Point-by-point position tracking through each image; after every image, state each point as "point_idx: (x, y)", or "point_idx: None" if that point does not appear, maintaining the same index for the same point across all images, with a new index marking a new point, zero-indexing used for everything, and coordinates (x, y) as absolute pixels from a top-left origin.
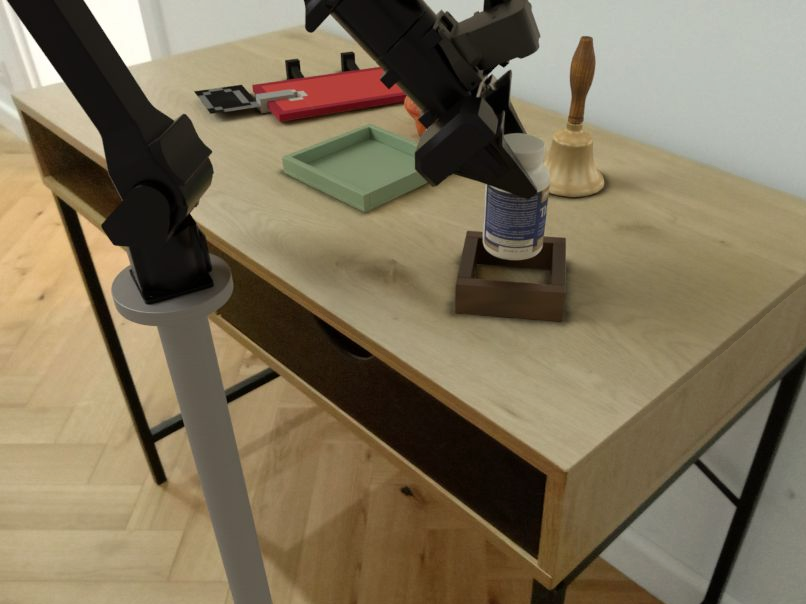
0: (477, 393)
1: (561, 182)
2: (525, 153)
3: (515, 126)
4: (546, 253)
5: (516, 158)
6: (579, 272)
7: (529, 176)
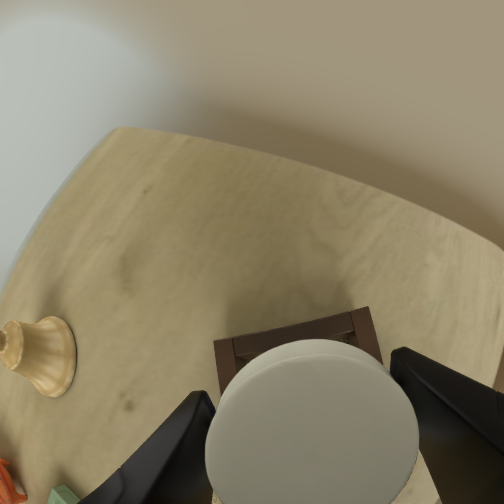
0: (491, 354)
1: (61, 362)
2: (409, 405)
3: (161, 494)
4: (240, 366)
5: (475, 408)
6: (238, 321)
7: (417, 370)
